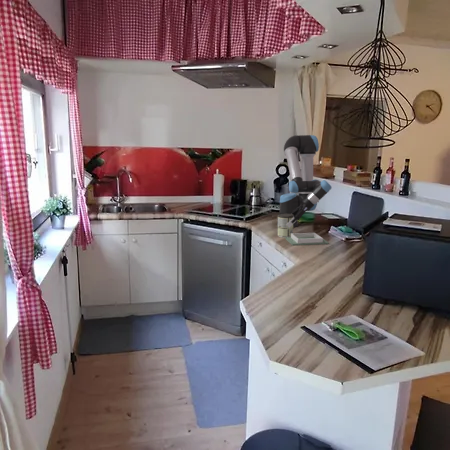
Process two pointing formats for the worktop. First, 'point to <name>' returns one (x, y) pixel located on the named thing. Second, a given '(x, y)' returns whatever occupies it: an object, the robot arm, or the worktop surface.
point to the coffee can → (284, 225)
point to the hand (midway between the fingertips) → (286, 224)
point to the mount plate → (305, 239)
